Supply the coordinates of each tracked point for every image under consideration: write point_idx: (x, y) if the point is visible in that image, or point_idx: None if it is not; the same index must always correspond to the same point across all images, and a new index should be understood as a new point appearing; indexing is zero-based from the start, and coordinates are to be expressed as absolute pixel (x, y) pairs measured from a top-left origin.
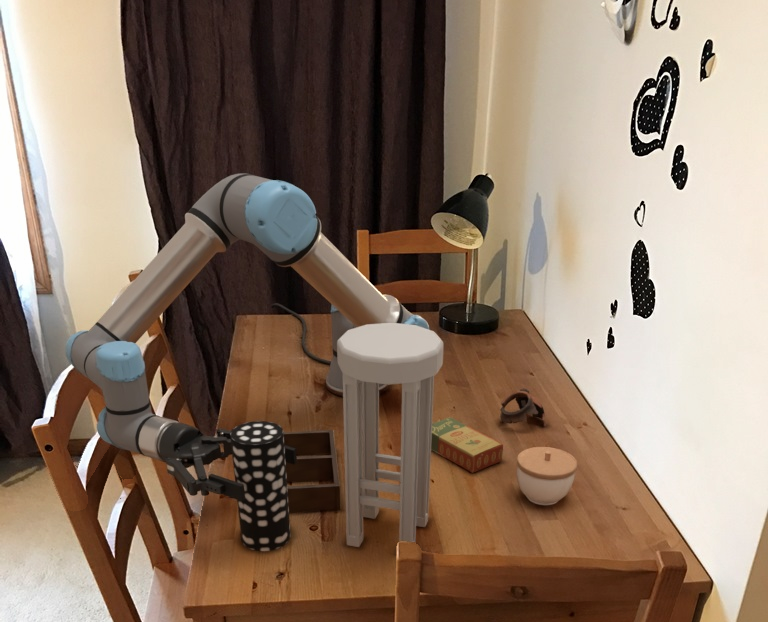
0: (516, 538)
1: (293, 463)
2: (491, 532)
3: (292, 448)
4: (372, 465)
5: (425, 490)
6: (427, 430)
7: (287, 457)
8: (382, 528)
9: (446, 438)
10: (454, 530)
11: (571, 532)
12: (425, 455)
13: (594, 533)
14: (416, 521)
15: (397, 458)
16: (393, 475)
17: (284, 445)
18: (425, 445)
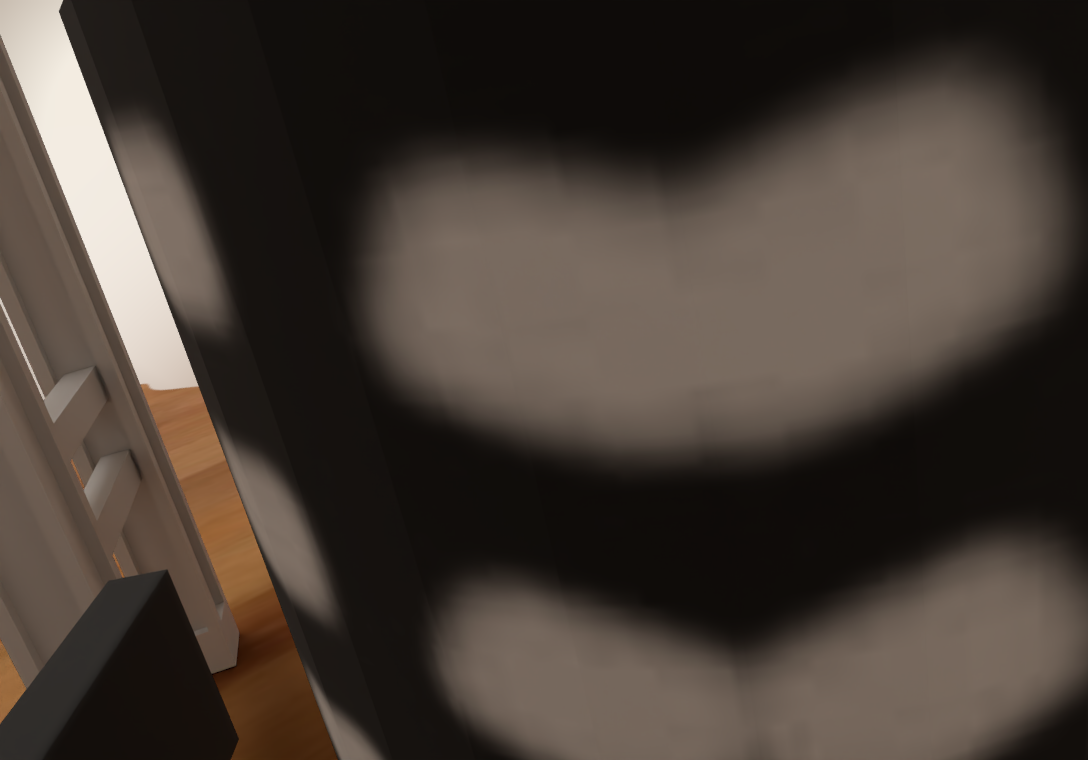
0: (230, 481)
1: (231, 736)
2: (214, 520)
3: (107, 605)
4: (68, 516)
5: (173, 469)
6: (47, 158)
7: (177, 758)
8: (302, 730)
9: None
10: (232, 573)
11: (167, 446)
12: (101, 297)
13: (161, 429)
14: (229, 636)
15: (59, 403)
16: (109, 505)
17: (10, 718)
18: (71, 251)
